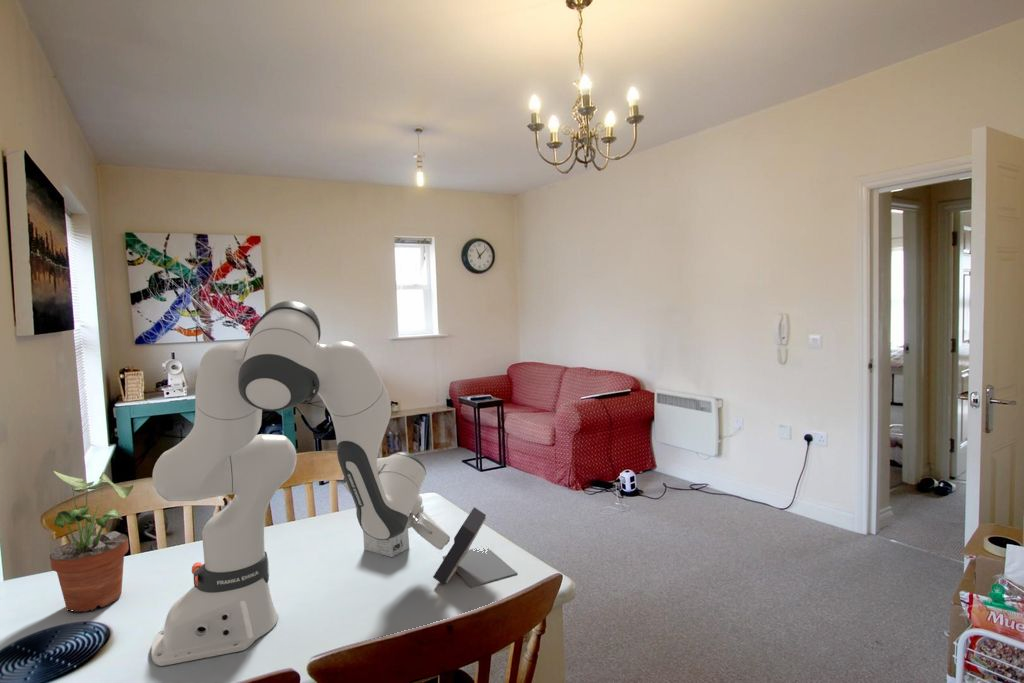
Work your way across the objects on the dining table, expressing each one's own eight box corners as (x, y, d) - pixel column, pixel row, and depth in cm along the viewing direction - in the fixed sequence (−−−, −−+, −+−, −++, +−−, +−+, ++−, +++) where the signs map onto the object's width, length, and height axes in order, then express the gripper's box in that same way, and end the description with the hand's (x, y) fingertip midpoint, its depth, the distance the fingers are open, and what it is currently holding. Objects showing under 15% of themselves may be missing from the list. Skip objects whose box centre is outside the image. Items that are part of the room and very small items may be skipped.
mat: (470, 587, 129) (470, 586, 129) (442, 557, 145) (442, 556, 145) (517, 574, 135) (517, 572, 135) (485, 546, 150) (485, 545, 150)
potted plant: (85, 625, 119) (70, 461, 117) (38, 614, 124) (23, 457, 122) (155, 589, 134) (143, 443, 131) (110, 581, 139) (98, 440, 137)
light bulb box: (410, 548, 151) (408, 508, 151) (392, 558, 146) (390, 517, 145) (381, 540, 157) (379, 502, 156) (362, 550, 151) (360, 510, 151)
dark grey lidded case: (445, 587, 130) (477, 536, 127) (430, 576, 130) (461, 525, 127) (459, 563, 141) (489, 516, 138) (444, 553, 141) (474, 506, 138)
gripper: (427, 510, 121) (471, 544, 126) (400, 485, 140) (440, 516, 145) (407, 535, 120) (453, 569, 125) (383, 506, 138) (424, 537, 143)
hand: (446, 540), depth 135 cm, fingers closed
